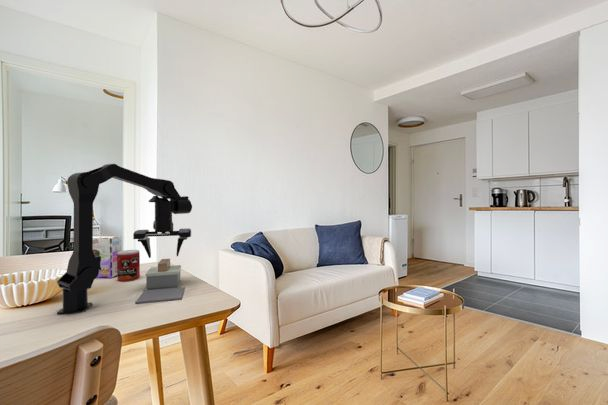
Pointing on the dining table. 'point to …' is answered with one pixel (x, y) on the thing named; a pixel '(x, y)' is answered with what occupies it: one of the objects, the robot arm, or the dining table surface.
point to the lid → (164, 269)
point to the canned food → (128, 265)
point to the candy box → (107, 254)
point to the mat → (160, 295)
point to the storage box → (162, 281)
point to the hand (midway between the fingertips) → (163, 257)
